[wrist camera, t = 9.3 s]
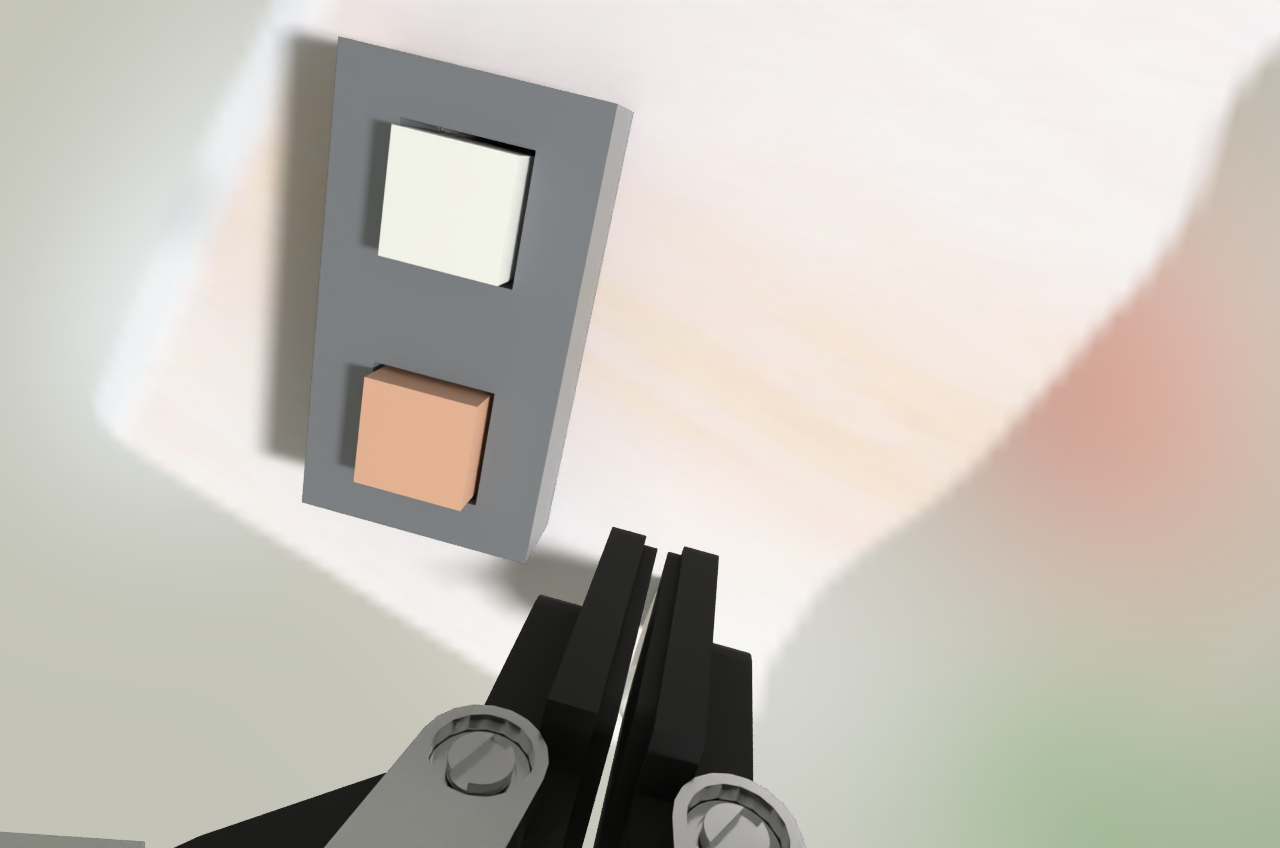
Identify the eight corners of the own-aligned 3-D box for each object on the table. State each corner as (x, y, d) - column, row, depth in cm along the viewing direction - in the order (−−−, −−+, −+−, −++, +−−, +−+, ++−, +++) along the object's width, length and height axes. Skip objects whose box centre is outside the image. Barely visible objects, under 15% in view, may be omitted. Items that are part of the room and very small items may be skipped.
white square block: (430, 129, 34) (391, 123, 30) (543, 157, 34) (518, 155, 30) (416, 246, 36) (378, 255, 32) (523, 274, 36) (497, 286, 32)
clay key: (402, 356, 38) (364, 377, 34) (504, 383, 37) (477, 407, 34) (390, 452, 40) (353, 481, 36) (487, 478, 39) (460, 511, 36)
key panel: (387, 52, 35) (338, 36, 31) (633, 112, 34) (617, 103, 30) (346, 469, 42) (302, 502, 38) (547, 524, 42) (524, 564, 38)
